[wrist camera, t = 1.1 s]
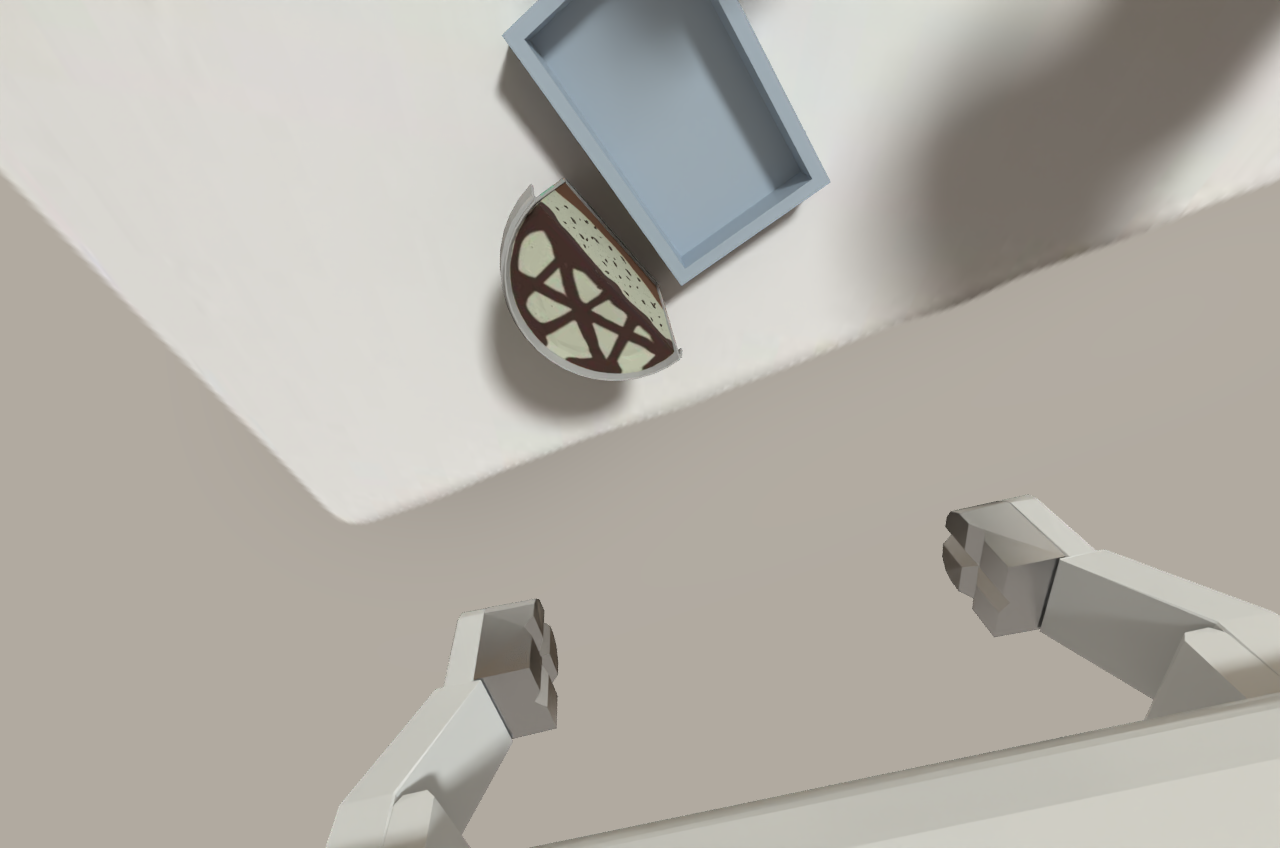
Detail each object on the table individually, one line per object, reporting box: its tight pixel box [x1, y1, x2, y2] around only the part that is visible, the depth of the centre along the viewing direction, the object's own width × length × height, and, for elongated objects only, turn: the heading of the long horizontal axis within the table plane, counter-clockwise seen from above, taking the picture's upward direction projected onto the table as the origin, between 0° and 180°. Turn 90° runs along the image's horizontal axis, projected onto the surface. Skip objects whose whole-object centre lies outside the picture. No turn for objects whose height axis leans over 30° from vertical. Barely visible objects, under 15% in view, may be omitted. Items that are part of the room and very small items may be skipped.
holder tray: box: [502, 0, 830, 286], centre depth 33 cm, size 11×17×3 cm, turn 36°
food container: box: [500, 177, 683, 381], centre depth 35 cm, size 12×6×10 cm, turn 41°
